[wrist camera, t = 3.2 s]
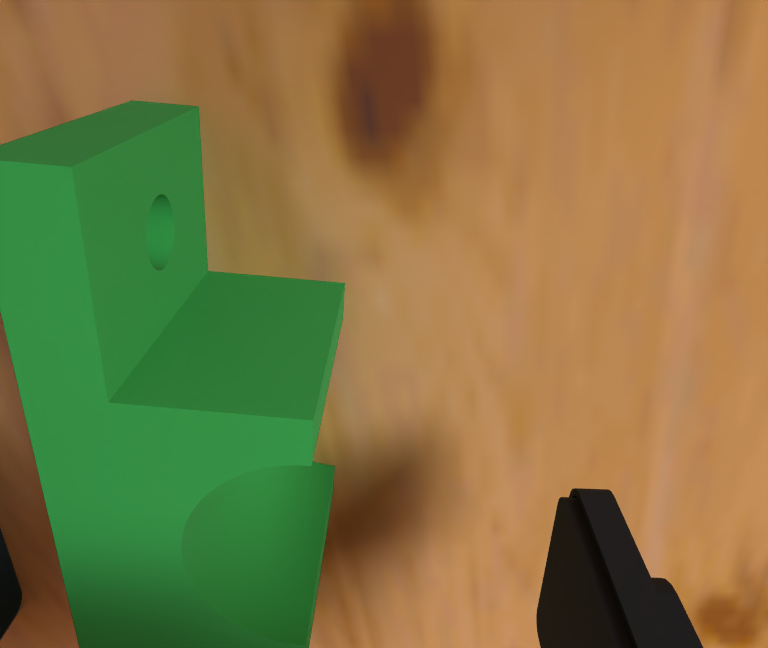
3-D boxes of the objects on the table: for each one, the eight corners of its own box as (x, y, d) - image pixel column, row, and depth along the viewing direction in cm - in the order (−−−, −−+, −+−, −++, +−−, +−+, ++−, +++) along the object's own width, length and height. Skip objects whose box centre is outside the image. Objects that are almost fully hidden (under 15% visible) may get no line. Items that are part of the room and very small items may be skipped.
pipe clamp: (330, 572, 16) (301, 774, 12) (183, 559, 16) (103, 757, 12) (356, 115, 10) (320, 192, 6) (134, 95, 10) (-47, 158, 6)
